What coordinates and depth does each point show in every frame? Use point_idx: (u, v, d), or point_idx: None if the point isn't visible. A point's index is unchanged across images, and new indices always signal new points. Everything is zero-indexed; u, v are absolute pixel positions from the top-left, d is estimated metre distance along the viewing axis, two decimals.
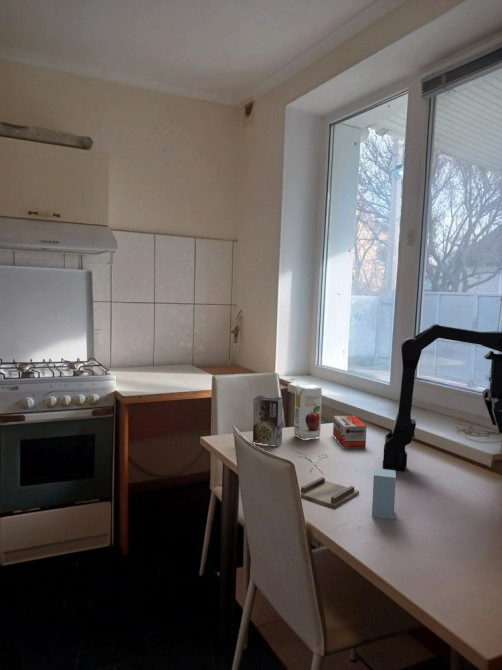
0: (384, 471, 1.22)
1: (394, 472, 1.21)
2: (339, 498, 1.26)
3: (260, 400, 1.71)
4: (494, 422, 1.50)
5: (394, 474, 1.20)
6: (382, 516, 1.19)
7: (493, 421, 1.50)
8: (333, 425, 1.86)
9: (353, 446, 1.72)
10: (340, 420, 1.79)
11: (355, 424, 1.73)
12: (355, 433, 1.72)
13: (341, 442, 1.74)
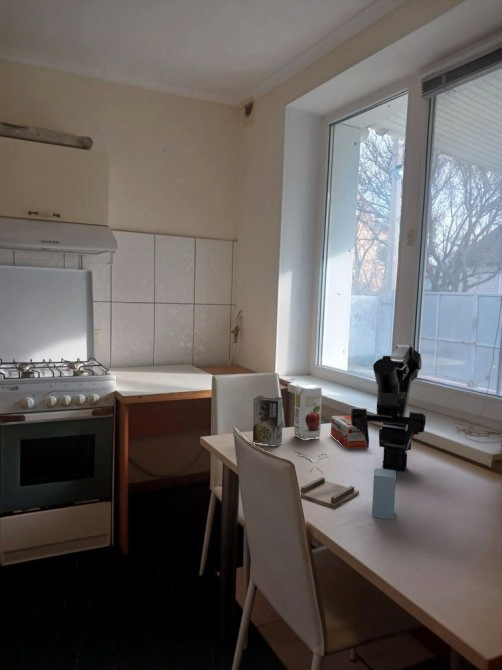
0: (384, 471, 1.22)
1: (394, 472, 1.21)
2: (339, 498, 1.26)
3: (260, 400, 1.71)
4: (404, 447, 1.27)
5: (394, 474, 1.20)
6: (382, 516, 1.19)
7: (404, 447, 1.28)
8: (331, 425, 1.86)
9: (355, 446, 1.72)
10: (340, 420, 1.78)
11: None
12: (357, 433, 1.72)
13: (343, 442, 1.74)
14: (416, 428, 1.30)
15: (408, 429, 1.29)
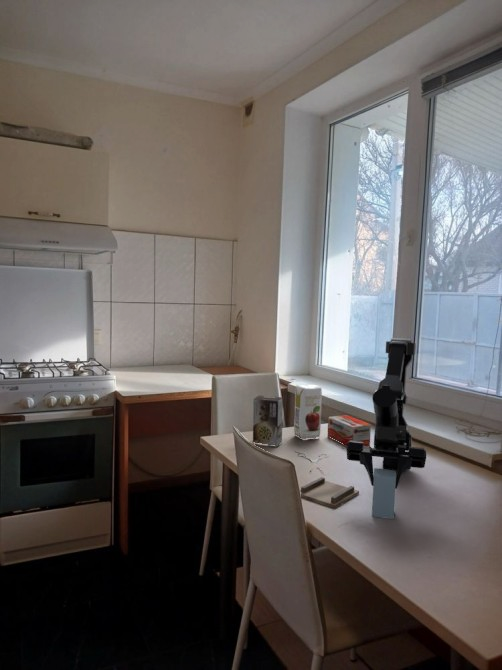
0: (384, 471, 1.22)
1: (394, 472, 1.21)
2: (339, 498, 1.26)
3: (260, 400, 1.71)
4: None
5: (394, 474, 1.20)
6: (382, 516, 1.19)
7: None
8: (328, 426, 1.84)
9: None
10: (341, 421, 1.78)
11: (359, 423, 1.74)
12: (362, 433, 1.72)
13: None
14: (408, 463, 1.22)
15: (399, 464, 1.21)
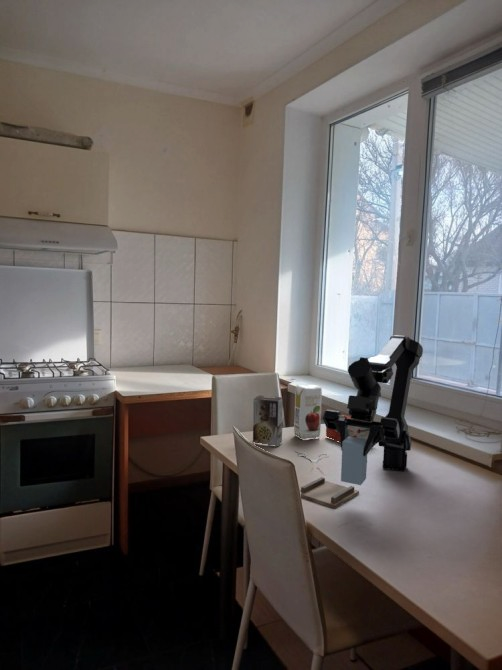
0: (356, 439, 1.25)
1: (365, 440, 1.24)
2: (339, 498, 1.26)
3: (260, 400, 1.71)
4: None
5: (363, 442, 1.23)
6: (350, 482, 1.23)
7: None
8: None
9: None
10: None
11: None
12: (364, 432, 1.73)
13: None
14: (380, 433, 1.25)
15: (370, 433, 1.24)
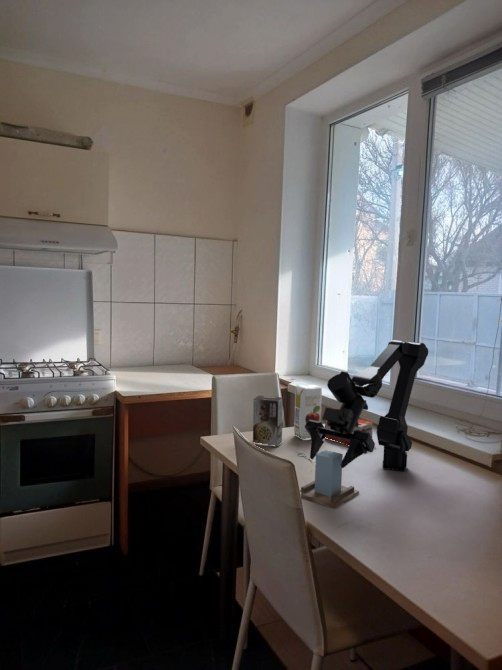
0: (330, 453, 1.32)
1: (338, 455, 1.30)
2: (339, 498, 1.26)
3: (260, 400, 1.71)
4: None
5: (336, 456, 1.29)
6: (322, 493, 1.30)
7: None
8: None
9: None
10: None
11: (362, 423, 1.76)
12: None
13: None
14: (360, 447, 1.28)
15: (349, 446, 1.28)
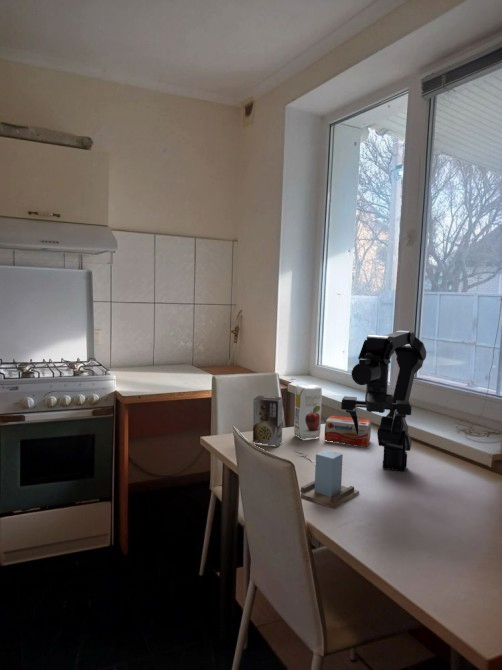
0: (330, 453, 1.32)
1: (338, 455, 1.30)
2: (339, 498, 1.26)
3: (260, 400, 1.71)
4: (390, 434, 1.40)
5: (336, 456, 1.29)
6: (322, 493, 1.30)
7: None
8: (325, 430, 1.79)
9: (368, 442, 1.77)
10: (346, 422, 1.76)
11: (364, 421, 1.78)
12: (369, 429, 1.77)
13: (359, 442, 1.75)
14: None
15: (394, 420, 1.38)
